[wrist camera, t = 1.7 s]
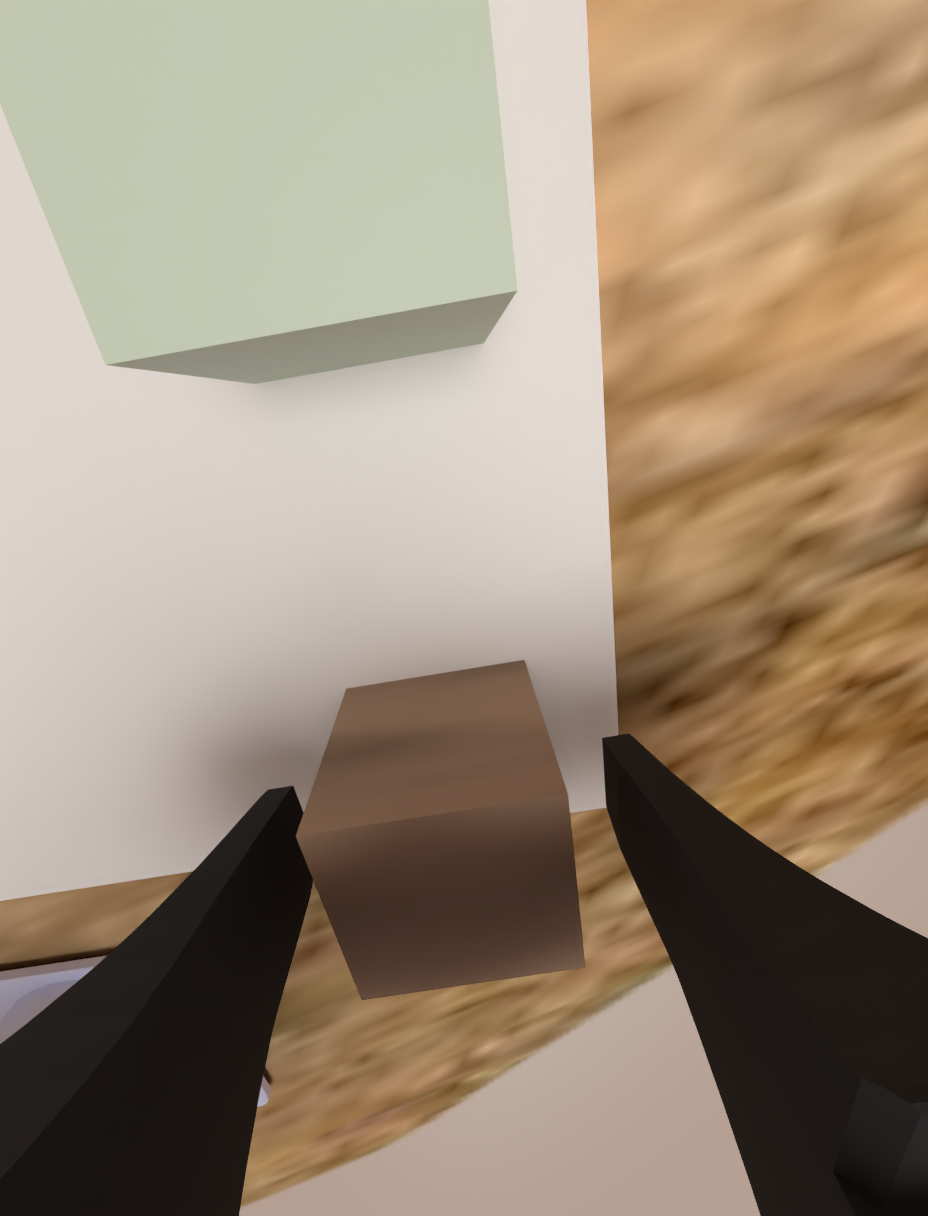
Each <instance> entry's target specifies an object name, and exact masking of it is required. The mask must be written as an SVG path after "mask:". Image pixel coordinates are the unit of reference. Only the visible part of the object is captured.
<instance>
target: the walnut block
mask: <svg viewBox="0 0 928 1216" xmlns="http://www.w3.org/2000/svg"><path fill="white" fill-rule="evenodd" d="M296 838H297V841H298V843H299V846H300V848H301V851H302V853H303V856H304V858H305V861H306V863H307V866H308V868H309V871H310V873H311V875H312V878H313V880H314V883H315V885H316V888H317V890H318V893H319V895H320V898H321V900H322V903H323V905H324V908H325V910H326V913H327V915H328V918H329V920H330V923H331V925H332V927H333V930H334V932H335V935H336V937H337V940H338V942H339V945H340V947H341V950H342V952H343V955H344V957H345V960H346V962H347V965H348V967H349V970H350V972H351V975H352V977H353V979H354V982H355V984H356V987H357V989H358V992H359V994H360V997H361V999H362V1000H366V999H372V998H379V997H386V996H393V995H400V994H407V993H414V992H420V991H427V990H434V989H441V988H448V987H455V986H461V985H468V984H475V983H482V982H489V981H496V980H502V979H509V978H516V977H523V976H530V975H537V974H543V973H550V972H557V971H564V970H571V969H578V968H584V967H585V959H584V949H583V939H582V929H581V919H580V909H579V899H578V889H577V879H576V869H575V859H574V849H573V839H572V829H571V819H570V809H569V799H568V793H567V790H566V786H565V783H564V780H563V777H562V774H561V771H560V768H559V765H558V762H557V759H556V756H555V753H554V750H553V746H552V743H551V740H550V737H549V734H548V731H547V728H546V725H545V722H544V719H543V716H542V713H541V710H540V706H539V703H538V700H537V697H536V694H535V691H534V688H533V685H532V682H531V679H530V676H529V673H528V669H527V666H526V663H525V660H520V661H514V662H508V663H502V664H495V665H489V666H483V667H477V668H471V669H465V670H458V671H452V672H446V673H440V674H434V675H427V676H421V677H415V678H409V679H403V680H397V681H390V682H384V683H378V684H372V685H366V686H360V687H353V688H347V689H346V691H345V694H344V697H343V700H342V703H341V705H340V708H339V711H338V714H337V717H336V720H335V723H334V726H333V729H332V732H331V735H330V738H329V740H328V743H327V746H326V749H325V752H324V755H323V758H322V761H321V764H320V767H319V770H318V773H317V776H316V778H315V781H314V784H313V787H312V790H311V793H310V796H309V799H308V802H307V805H306V808H305V811H304V813H303V816H302V819H301V822H300V825H299V828H298V831H297V834H296Z"/></svg>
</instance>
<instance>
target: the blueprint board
mask: <svg viewBox="0 0 928 1216" xmlns="http://www.w3.org/2000/svg"><path fill="white" fill-rule="evenodd" d="M488 2H489V12H490V22H491V32H492V42H493V52H494V62H495V72H496V82H497V92H498V102H499V112H500V122H501V131H502V141H503V151H504V161H505V171H506V181H507V191H508V201H509V211H510V221H511V231H512V241H513V251H514V261H515V271H516V281H517V292H516V294H515V295H514V297H513V298H512V300H511V302H510V303H509V305H508V306H507V308H506V309H505V311H504V313H503V314H502V316H501V317H500V319H499V320H498V322H497V323H496V325H495V327H494V328H493V330H492V331H491V333H490V334H489V336H488V338H487V339H486V341H485V342H484V343H483V344H477V345H471V346H466V347H460V348H455V349H449V350H443V351H438V352H432V353H426V354H421V355H415V356H410V357H404V358H398V359H393V360H387V361H381V362H376V363H370V364H365V365H359V366H353V367H348V368H342V369H337V370H331V371H325V372H320V373H314V374H308V375H303V376H297V377H292V378H286V379H280V380H275V381H269V382H264V383H258V384H251V383H243V382H235V381H227V380H219V379H212V378H204V377H196V376H188V375H180V374H172V373H164V372H156V371H149V370H141V369H133V368H125V367H117V366H109V365H105V363H104V360H103V358H102V355H101V353H100V350H99V348H98V345H97V343H96V340H95V338H94V335H93V333H92V330H91V328H90V326H89V323H88V321H87V318H86V316H85V313H84V311H83V308H82V306H81V303H80V301H79V298H78V296H77V293H76V291H75V288H74V286H73V283H72V281H71V278H70V276H69V274H68V271H67V269H66V266H65V264H64V261H63V259H62V256H61V254H60V251H59V249H58V246H57V244H56V241H55V239H54V236H53V234H52V231H51V229H50V226H49V224H48V221H47V219H46V217H45V214H44V212H43V209H42V207H41V204H40V202H39V199H38V197H37V194H36V192H35V189H34V187H33V184H32V182H31V179H30V177H29V174H28V172H27V169H26V167H25V165H24V162H23V160H22V157H21V155H20V152H19V150H18V147H17V145H16V142H15V140H14V137H13V135H12V132H11V130H10V127H9V125H8V122H7V120H6V117H5V115H4V113H3V110H2V108H1V105H0V901H3V900H10V899H16V898H23V897H29V896H36V895H42V894H48V893H55V892H61V891H68V890H74V889H81V888H87V887H94V886H100V885H107V884H113V883H120V882H126V881H133V880H139V879H146V878H152V877H159V876H165V875H172V874H178V873H185V872H191V871H194V870H195V869H196V868H197V867H198V866H199V865H200V864H201V862H202V861H203V860H204V859H205V858H206V857H207V856H208V855H209V854H210V852H211V851H212V850H213V849H214V848H215V847H216V846H217V845H218V844H219V843H220V841H221V840H222V839H223V838H224V837H225V836H226V835H227V834H228V833H229V831H230V830H231V829H232V828H233V827H234V826H235V825H236V824H237V823H238V821H239V820H240V819H241V818H242V817H243V816H244V815H245V814H246V812H247V811H248V810H249V809H250V808H251V807H252V806H253V805H254V804H255V802H256V801H257V800H258V799H259V798H260V797H261V796H262V795H263V794H264V793H265V792H266V791H267V790H268V789H274V788H281V787H287V786H294V789H295V792H296V794H297V797H298V799H299V802H300V805H301V807H302V810H303V812H304V811H305V808H306V805H307V802H308V799H309V796H310V793H311V790H312V787H313V784H314V781H315V778H316V776H317V773H318V770H319V767H320V764H321V761H322V758H323V755H324V752H325V749H326V746H327V743H328V740H329V738H330V735H331V732H332V729H333V726H334V723H335V720H336V717H337V714H338V711H339V708H340V705H341V703H342V700H343V697H344V694H345V691H346V689H347V688H353V687H360V686H366V685H372V684H378V683H384V682H390V681H397V680H403V679H409V678H415V677H421V676H427V675H434V674H440V673H446V672H452V671H458V670H465V669H471V668H477V667H483V666H489V665H495V664H502V663H508V662H514V661H520V660H525V663H526V666H527V669H528V673H529V676H530V679H531V682H532V685H533V688H534V691H535V694H536V697H537V700H538V703H539V706H540V710H541V713H542V716H543V719H544V722H545V725H546V728H547V731H548V734H549V737H550V740H551V743H552V746H553V750H554V753H555V756H556V759H557V762H558V765H559V768H560V771H561V774H562V777H563V780H564V783H565V786H566V790H567V793H568V799H569V809H570V813H574V812H581V811H587V810H594V809H600V808H607V807H606V796H605V779H604V762H603V746H602V738H604V737H610V736H617V735H619V733H618V710H617V688H616V665H615V643H614V621H613V598H612V576H611V553H610V531H609V508H608V486H607V463H606V441H605V418H604V396H603V373H602V351H601V328H600V306H599V283H598V261H597V238H596V216H595V193H594V171H593V148H592V126H591V103H590V81H589V58H588V36H587V13H586V0H488Z"/></svg>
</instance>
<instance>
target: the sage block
mask: <svg viewBox="0 0 928 1216" xmlns="http://www.w3.org/2000/svg"><path fill="white" fill-rule="evenodd" d="M0 105H1V108H2V110H3V113H4V115H5V117H6V120H7V122H8V125H9V127H10V130H11V132H12V135H13V137H14V140H15V142H16V145H17V147H18V150H19V152H20V155H21V157H22V160H23V162H24V165H25V167H26V169H27V172H28V174H29V177H30V179H31V182H32V184H33V187H34V189H35V192H36V194H37V197H38V199H39V202H40V204H41V207H42V209H43V212H44V214H45V217H46V219H47V221H48V224H49V226H50V229H51V231H52V234H53V236H54V239H55V241H56V244H57V246H58V249H59V251H60V254H61V256H62V259H63V261H64V264H65V266H66V269H67V271H68V274H69V276H70V278H71V281H72V283H73V286H74V288H75V291H76V293H77V296H78V298H79V301H80V303H81V306H82V308H83V311H84V313H85V316H86V318H87V321H88V323H89V326H90V328H91V330H92V333H93V335H94V338H95V340H96V343H97V345H98V348H99V350H100V353H101V355H102V358H103V360H104V363H105V365H109V366H117V367H125V368H133V369H141V370H149V371H156V372H164V373H172V374H180V375H188V376H196V377H204V378H212V379H219V380H227V381H235V382H243V383H251V384H258V383H264V382H269V381H275V380H280V379H286V378H292V377H297V376H303V375H308V374H314V373H320V372H325V371H331V370H337V369H342V368H348V367H353V366H359V365H365V364H370V363H376V362H381V361H387V360H393V359H398V358H404V357H410V356H415V355H421V354H426V353H432V352H438V351H443V350H449V349H455V348H460V347H466V346H471V345H477V344H483V343H484V342H485V341H486V339H487V338H488V336H489V334H490V333H491V331H492V330H493V328H494V327H495V325H496V323H497V322H498V320H499V319H500V317H501V316H502V314H503V313H504V311H505V309H506V308H507V306H508V305H509V303H510V302H511V300H512V298H513V297H514V295H515V294H516V292H517V281H516V271H515V261H514V251H513V241H512V231H511V221H510V211H509V201H508V191H507V181H506V171H505V161H504V151H503V141H502V131H501V122H500V112H499V102H498V92H497V82H496V72H495V62H494V52H493V42H492V32H491V22H490V12H489V2H488V0H0Z"/></svg>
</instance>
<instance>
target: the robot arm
mask: <svg viewBox="0 0 928 1216" xmlns="http://www.w3.org/2000/svg"><path fill="white" fill-rule="evenodd" d="M602 746H603V762H604V779H605V796H606V807H607V810H608V813H609V816H610V819H611V822H612V825H613V828H614V831H615V834H616V837H617V840H618V843H619V846H620V849H621V851H622V853H623V856H624V858H625V860H626V862H627V865H628V867H629V869H630V871H631V873H632V876H633V878H634V880H635V882H636V884H637V887H638V889H639V891H640V893H641V895H642V898H643V900H644V902H645V904H646V906H647V908H648V911H649V913H650V915H651V917H652V919H653V922H654V924H655V926H656V928H657V930H658V932H659V935H660V937H661V939H662V941H663V943H664V946H665V948H666V950H667V952H668V954H669V957H670V959H671V961H672V964H673V966H674V969H675V971H676V973H677V976H678V978H679V981H680V983H681V986H682V989H683V992H684V994H685V997H686V1000H687V1003H688V1006H689V1008H690V1011H691V1014H692V1016H693V1019H694V1022H695V1025H696V1028H697V1030H698V1033H699V1036H700V1039H701V1041H702V1044H703V1047H704V1050H705V1053H706V1056H707V1059H708V1061H709V1064H710V1067H711V1070H712V1073H713V1076H714V1078H715V1081H716V1084H717V1087H718V1090H719V1093H720V1095H721V1098H722V1101H723V1104H724V1107H725V1110H726V1113H727V1116H728V1119H729V1122H730V1125H731V1128H732V1131H733V1134H734V1136H735V1140H736V1143H737V1145H738V1149H739V1151H740V1154H741V1157H742V1160H743V1163H744V1166H745V1169H746V1172H747V1175H748V1178H749V1181H750V1184H751V1187H752V1190H753V1193H754V1196H755V1199H756V1202H757V1206H758V1209H759V1211H760V1215H761V1216H928V938H926V937H924V936H922V935H920V934H918V933H916V932H914V931H912V930H910V929H908V928H906V927H904V926H902V925H900V924H898V923H896V922H894V921H893V920H891V919H889V918H887V917H885V916H883V915H881V914H879V913H878V912H876V911H874V910H872V909H870V908H868V907H867V906H865V905H863V904H861V903H860V902H858V901H856V900H854V899H853V898H851V897H849V896H847V895H846V894H844V893H842V892H840V891H839V890H837V889H835V888H833V887H831V886H830V885H828V884H826V883H824V882H823V881H821V880H819V879H818V878H816V877H814V876H813V875H811V874H809V873H808V872H806V871H805V870H803V869H801V868H800V867H798V866H797V865H795V864H793V863H792V862H790V861H789V860H787V859H786V858H784V857H783V856H781V855H780V854H778V853H777V852H775V851H774V850H772V849H771V848H769V847H768V846H766V845H765V844H763V843H762V842H760V841H759V840H758V839H756V838H755V837H753V836H752V835H751V834H749V833H748V832H746V831H745V830H744V829H742V828H741V827H740V826H738V825H737V824H736V823H734V822H733V821H732V820H730V819H729V818H728V817H726V816H725V815H724V814H722V813H721V812H720V811H718V810H717V809H716V808H715V807H713V806H712V805H711V804H709V803H708V802H707V801H706V800H705V799H703V798H702V797H701V796H700V795H698V794H697V793H696V792H695V791H694V790H692V789H691V788H690V787H689V786H688V785H686V784H685V783H684V782H683V781H682V780H680V779H679V778H678V777H677V776H676V775H675V774H673V773H672V772H671V771H670V770H669V769H668V768H667V767H666V766H664V765H663V764H662V763H661V762H660V761H659V760H658V759H657V758H655V757H654V756H653V755H652V754H651V753H650V752H649V751H648V750H647V749H646V748H645V747H644V746H642V745H641V744H640V743H639V742H638V741H637V740H636V739H635V738H634V737H633V736H631V735H630V734H623V735H617V736H610V737H604V738H602ZM303 813H304V812H303V810H302V807H301V805H300V802H299V799H298V797H297V794H296V792H295V789H294V786H287V787H281V788H274V789H268V790H267V791H266V792H265V793H264V794H263V795H262V796H261V797H260V798H259V799H258V800H257V801H256V802H255V804H254V805H253V806H252V807H251V808H250V809H249V810H248V811H247V812H246V814H245V815H244V816H243V817H242V818H241V819H240V820H239V821H238V823H237V824H236V825H235V826H234V827H233V828H232V829H231V830H230V831H229V833H228V834H227V835H226V836H225V837H224V838H223V839H222V840H221V841H220V843H219V844H218V845H217V846H216V847H215V848H214V849H213V850H212V851H211V852H210V854H209V855H208V856H207V857H206V858H205V859H204V860H203V861H202V862H201V864H200V865H199V866H198V867H197V868H196V869H195V870H194V871H193V872H192V873H191V874H190V875H189V876H188V877H187V878H186V879H185V880H184V881H183V882H182V883H181V884H180V885H179V886H178V888H177V889H176V890H175V891H174V892H173V893H172V894H171V895H170V896H169V897H168V898H167V899H166V900H165V901H164V902H163V903H162V904H161V905H160V906H159V907H158V908H157V909H156V910H155V911H154V912H153V913H152V914H151V915H150V916H149V917H148V918H147V919H146V920H145V921H144V922H143V923H142V924H141V925H140V926H139V927H138V928H137V929H136V930H135V931H133V932H132V933H131V934H130V935H129V936H128V937H127V938H126V939H125V940H124V941H123V942H122V943H121V944H119V945H118V946H117V947H116V948H115V949H114V950H113V951H112V952H111V953H110V954H108V955H107V956H100V957H93V958H87V959H80V960H73V961H67V962H60V963H53V964H47V965H40V966H33V967H27V968H20V969H13V970H7V971H0V1216H239V1211H240V1205H241V1198H242V1192H243V1186H244V1179H245V1173H246V1167H247V1161H248V1155H249V1150H250V1144H251V1138H252V1133H253V1127H254V1122H255V1116H256V1111H257V1107H260V1106H263V1105H265V1104H266V1103H267V1102H268V1100H269V1097H270V1093H271V1087H270V1086H269V1084H268V1082H267V1081H266V1079H265V1077H264V1075H263V1074H264V1069H265V1064H266V1059H267V1054H268V1049H269V1044H270V1039H271V1035H272V1031H273V1027H274V1023H275V1019H276V1015H277V1011H278V1007H279V1004H280V1000H281V997H282V993H283V990H284V986H285V983H286V979H287V976H288V972H289V969H290V965H291V962H292V959H293V955H294V952H295V948H296V945H297V941H298V938H299V934H300V931H301V927H302V924H303V920H304V917H305V913H306V909H307V906H308V902H309V898H310V894H311V888H312V883H313V878H312V875H311V873H310V871H309V868H308V866H307V863H306V861H305V858H304V856H303V853H302V851H301V848H300V846H299V843H298V841H297V838H296V834H297V831H298V828H299V825H300V822H301V819H302V816H303Z"/></svg>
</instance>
